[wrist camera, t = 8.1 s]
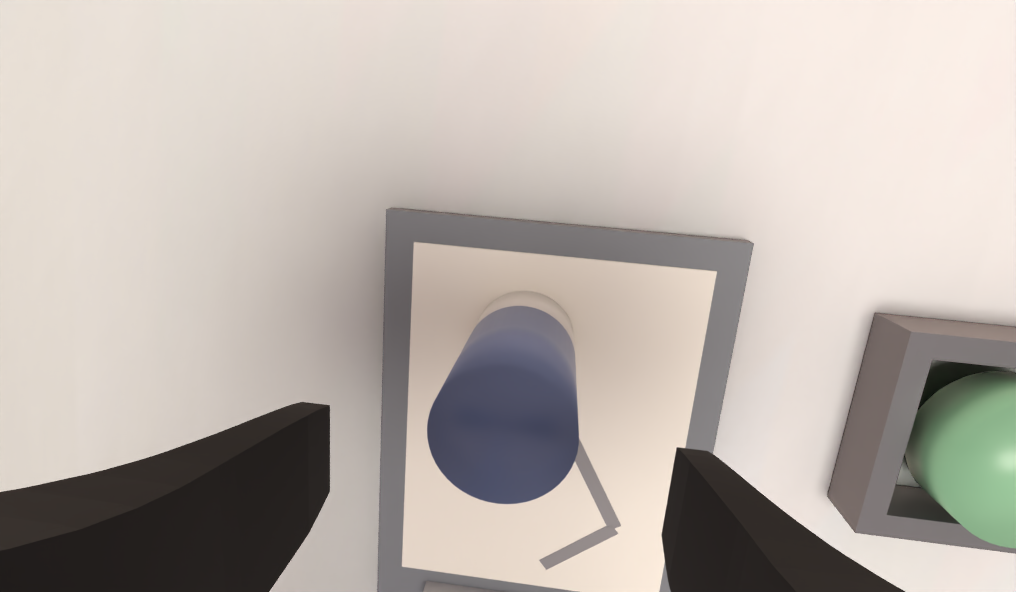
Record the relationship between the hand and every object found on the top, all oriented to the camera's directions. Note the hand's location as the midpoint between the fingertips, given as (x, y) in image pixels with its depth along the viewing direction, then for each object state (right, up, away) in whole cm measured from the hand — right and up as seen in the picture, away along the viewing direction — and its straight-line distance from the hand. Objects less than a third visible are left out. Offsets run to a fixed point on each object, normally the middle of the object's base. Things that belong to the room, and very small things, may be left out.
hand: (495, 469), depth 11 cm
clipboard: (+2, -2, +9) cm, 10 cm away
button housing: (+16, -1, +8) cm, 17 cm away
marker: (+1, +2, +8) cm, 8 cm away
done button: (+16, -1, +6) cm, 17 cm away
